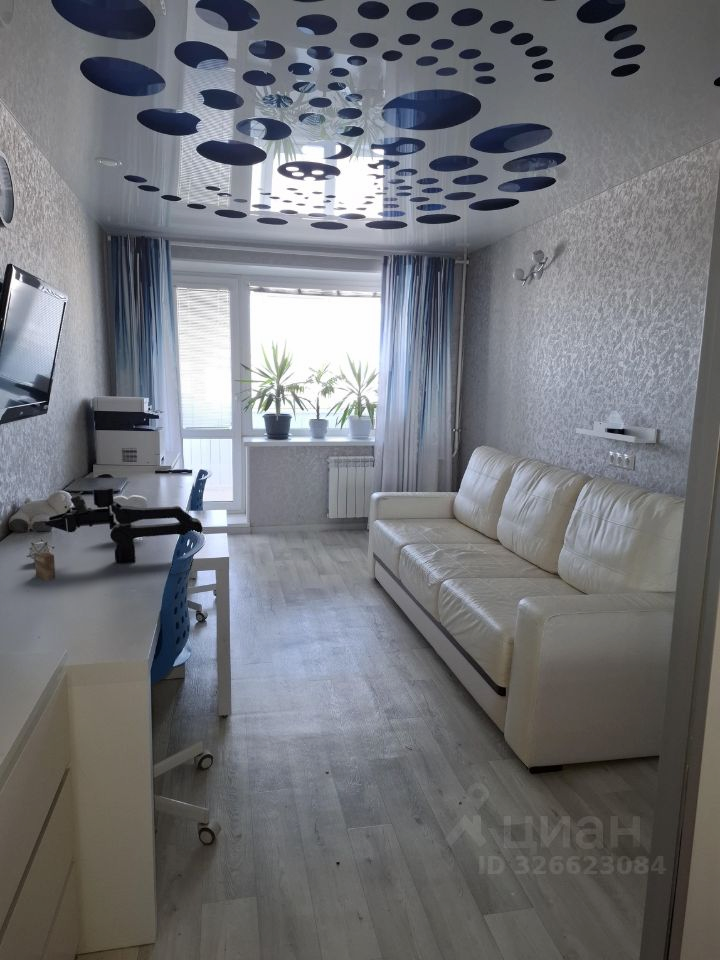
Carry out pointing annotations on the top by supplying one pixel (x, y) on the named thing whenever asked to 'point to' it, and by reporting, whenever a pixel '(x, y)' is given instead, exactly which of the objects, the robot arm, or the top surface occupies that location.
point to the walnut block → (45, 565)
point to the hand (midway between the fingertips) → (47, 521)
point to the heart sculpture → (131, 503)
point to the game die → (39, 549)
